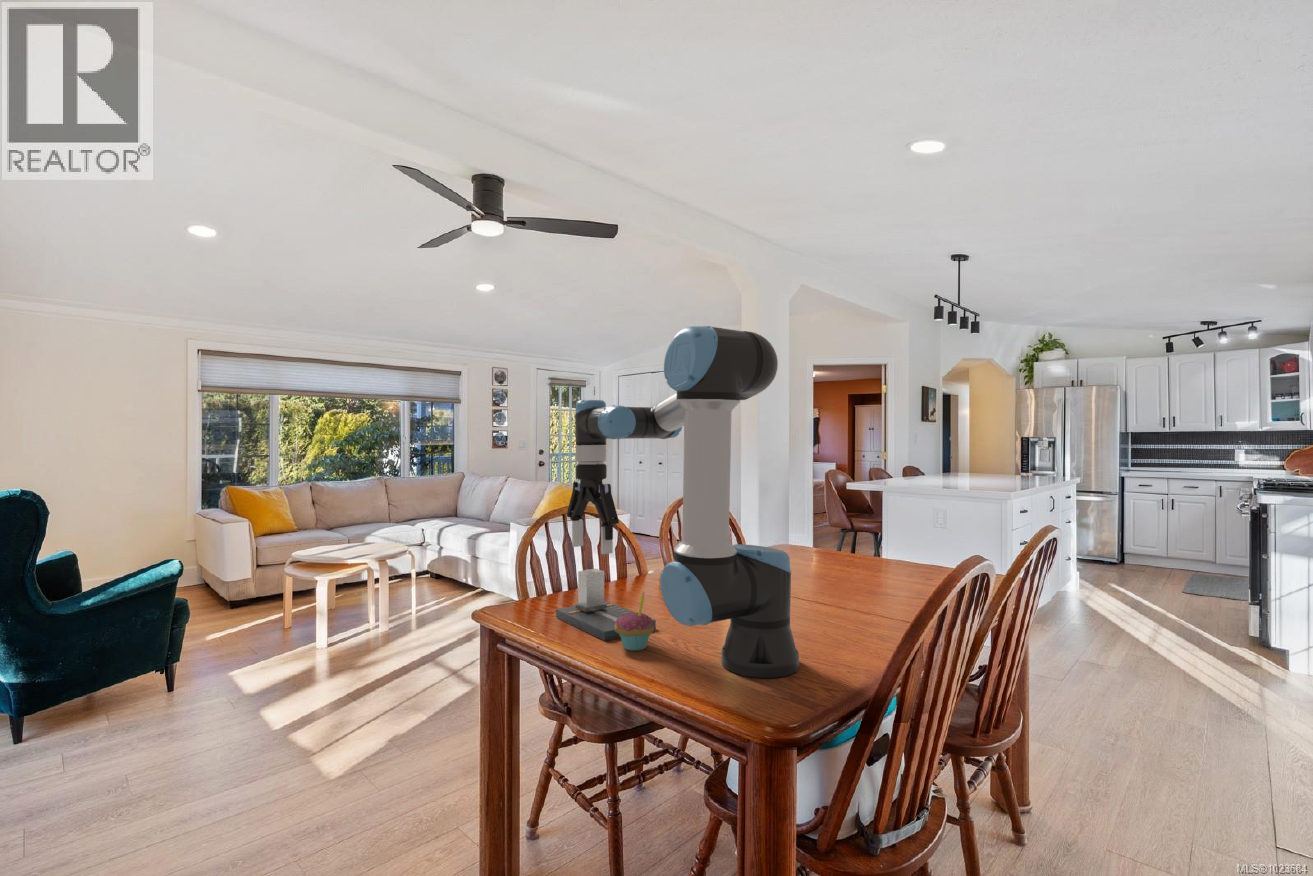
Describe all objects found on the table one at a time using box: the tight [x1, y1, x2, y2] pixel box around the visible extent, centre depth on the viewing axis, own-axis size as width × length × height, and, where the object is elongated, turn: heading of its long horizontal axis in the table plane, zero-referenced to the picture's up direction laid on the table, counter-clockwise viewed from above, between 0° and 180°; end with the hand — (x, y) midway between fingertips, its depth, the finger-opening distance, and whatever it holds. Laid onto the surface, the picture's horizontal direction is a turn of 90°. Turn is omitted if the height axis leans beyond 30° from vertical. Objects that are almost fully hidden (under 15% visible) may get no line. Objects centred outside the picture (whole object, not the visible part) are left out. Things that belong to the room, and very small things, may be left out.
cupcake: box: [615, 591, 655, 651], centre depth 135 cm, size 9×8×12 cm
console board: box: [555, 599, 657, 642], centre depth 152 cm, size 22×14×2 cm, turn 37°
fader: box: [574, 568, 607, 612], centre depth 157 cm, size 5×6×9 cm
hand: (591, 550), depth 157 cm, fingers open, 13 cm apart
